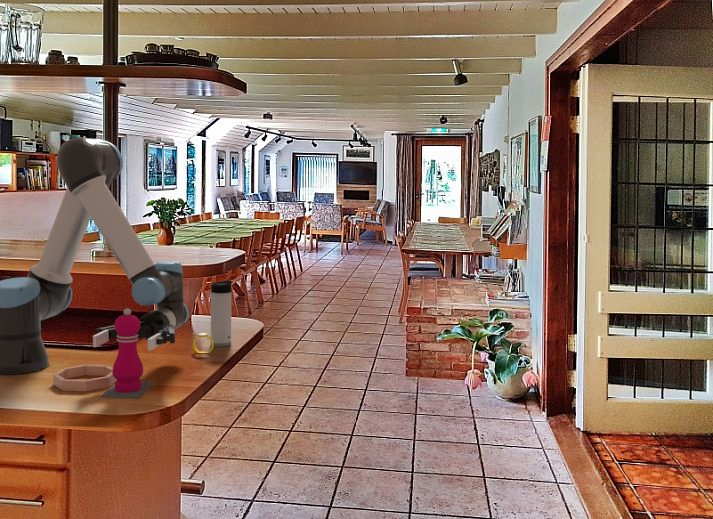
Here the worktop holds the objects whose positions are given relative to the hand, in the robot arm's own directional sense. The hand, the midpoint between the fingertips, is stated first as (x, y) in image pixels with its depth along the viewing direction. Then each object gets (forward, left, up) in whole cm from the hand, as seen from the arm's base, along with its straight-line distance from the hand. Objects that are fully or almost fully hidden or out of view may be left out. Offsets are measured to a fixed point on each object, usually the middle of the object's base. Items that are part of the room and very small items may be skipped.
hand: (121, 343), depth 167 cm
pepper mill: (0, +3, -12) cm, 13 cm away
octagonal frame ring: (-12, +8, -13) cm, 19 cm away
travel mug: (+13, +51, -13) cm, 54 cm away
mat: (0, +3, -13) cm, 13 cm away
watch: (+10, +40, -13) cm, 43 cm away
